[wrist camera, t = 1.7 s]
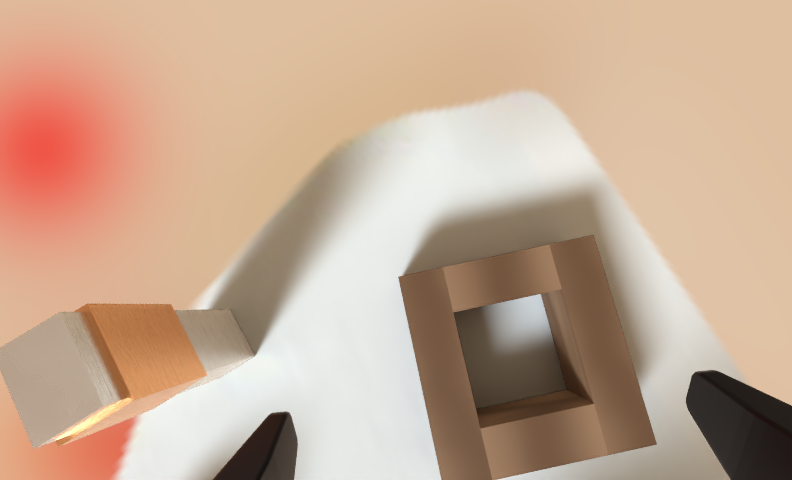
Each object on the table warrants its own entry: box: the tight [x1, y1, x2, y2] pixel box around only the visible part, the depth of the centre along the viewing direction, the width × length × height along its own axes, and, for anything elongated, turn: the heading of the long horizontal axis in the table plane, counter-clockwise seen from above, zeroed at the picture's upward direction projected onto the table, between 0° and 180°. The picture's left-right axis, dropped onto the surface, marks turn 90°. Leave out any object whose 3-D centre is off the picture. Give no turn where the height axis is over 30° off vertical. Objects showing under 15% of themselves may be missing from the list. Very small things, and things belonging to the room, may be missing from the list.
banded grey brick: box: [0, 304, 255, 449], centre depth 19 cm, size 4×3×12 cm
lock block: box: [399, 235, 656, 480], centre depth 23 cm, size 11×11×4 cm
